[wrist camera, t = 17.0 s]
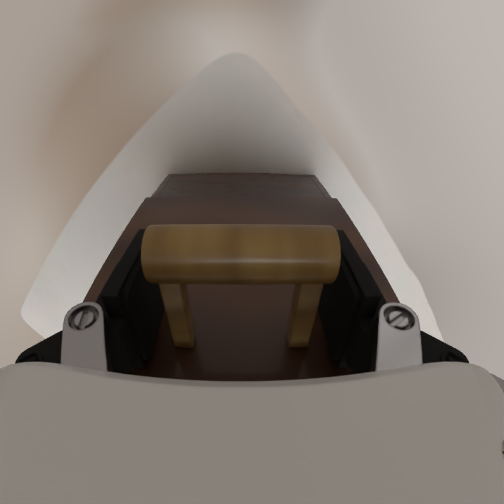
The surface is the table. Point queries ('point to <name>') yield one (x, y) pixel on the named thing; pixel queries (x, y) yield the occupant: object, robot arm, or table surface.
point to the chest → (241, 185)
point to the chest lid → (241, 284)
